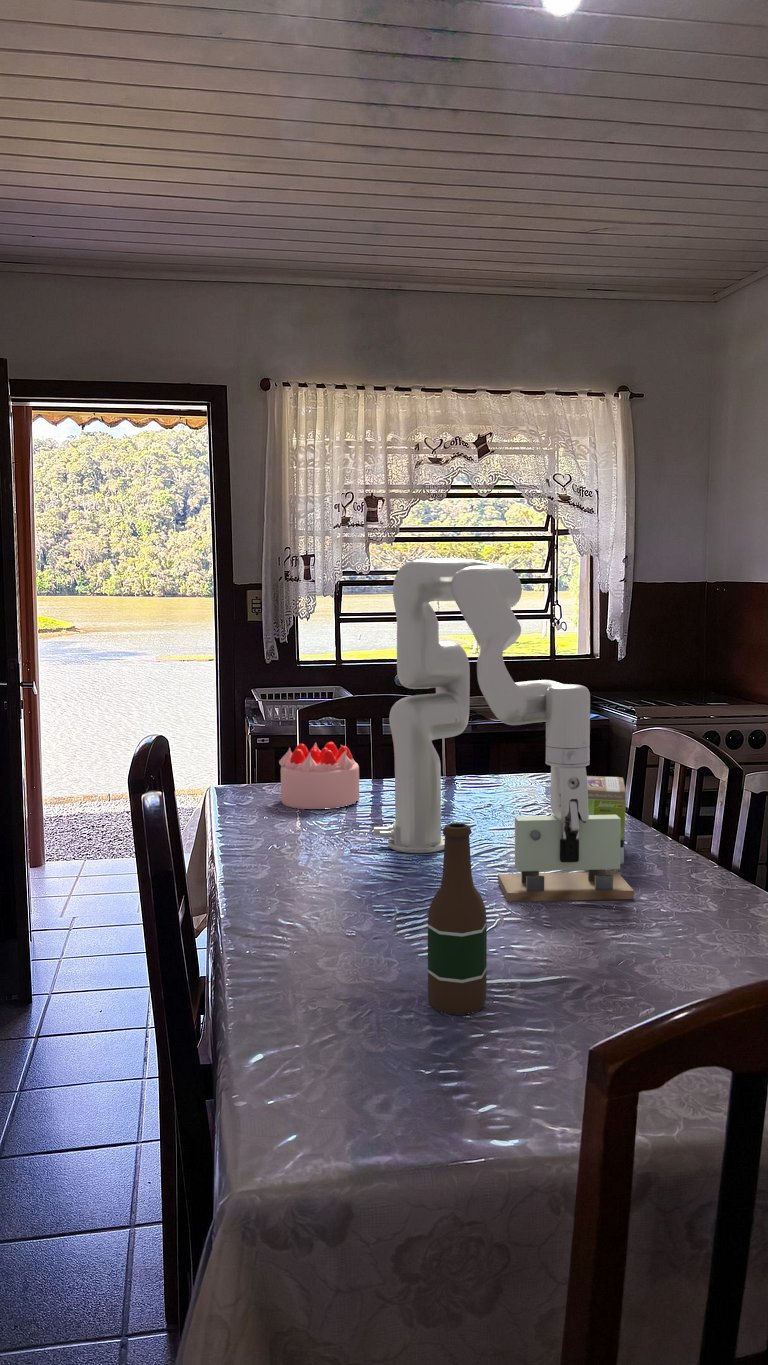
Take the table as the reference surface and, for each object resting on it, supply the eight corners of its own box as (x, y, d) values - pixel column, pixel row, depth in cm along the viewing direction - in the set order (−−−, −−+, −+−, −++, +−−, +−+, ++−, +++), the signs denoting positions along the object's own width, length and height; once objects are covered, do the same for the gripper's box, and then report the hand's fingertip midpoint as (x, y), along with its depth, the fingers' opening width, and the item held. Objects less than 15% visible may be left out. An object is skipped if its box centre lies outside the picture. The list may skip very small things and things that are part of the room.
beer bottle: (424, 992, 133) (423, 818, 131) (481, 990, 134) (481, 817, 131) (431, 1018, 126) (431, 833, 123) (492, 1015, 126) (492, 831, 124)
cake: (357, 810, 238) (357, 752, 237) (275, 811, 239) (274, 753, 237) (360, 793, 258) (360, 739, 256) (284, 793, 258) (283, 740, 257)
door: (518, 872, 171) (518, 822, 170) (514, 866, 175) (514, 816, 174) (621, 870, 171) (622, 819, 170) (615, 864, 175) (616, 814, 174)
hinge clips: (527, 891, 171) (527, 877, 171) (521, 881, 177) (521, 867, 176) (612, 889, 171) (613, 875, 171) (604, 879, 177) (604, 866, 177)
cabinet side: (507, 901, 170) (507, 893, 170) (498, 882, 181) (498, 874, 181) (633, 899, 171) (633, 890, 171) (616, 879, 182) (616, 871, 182)
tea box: (625, 865, 191) (626, 790, 190) (572, 863, 193) (573, 788, 192) (622, 845, 206) (623, 775, 204) (573, 842, 208) (574, 773, 206)
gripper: (600, 763, 164) (599, 871, 165) (578, 747, 180) (577, 846, 182) (555, 764, 163) (555, 872, 165) (537, 748, 180) (537, 846, 181)
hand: (566, 857), depth 173 cm, fingers closed on door, 3 cm apart
